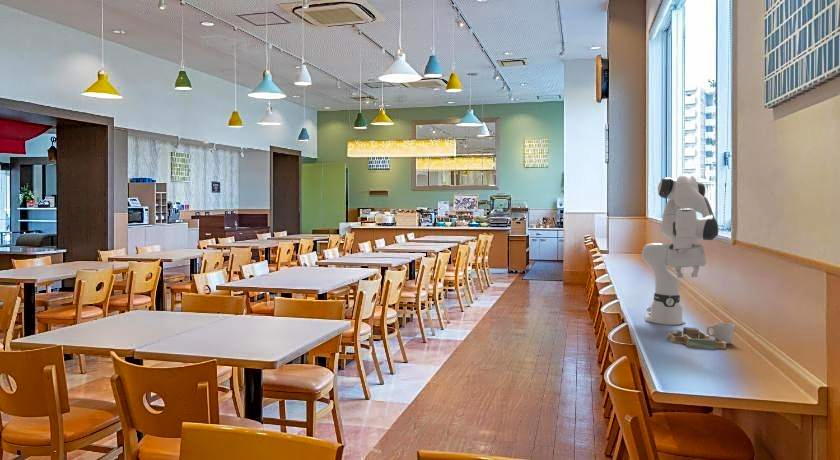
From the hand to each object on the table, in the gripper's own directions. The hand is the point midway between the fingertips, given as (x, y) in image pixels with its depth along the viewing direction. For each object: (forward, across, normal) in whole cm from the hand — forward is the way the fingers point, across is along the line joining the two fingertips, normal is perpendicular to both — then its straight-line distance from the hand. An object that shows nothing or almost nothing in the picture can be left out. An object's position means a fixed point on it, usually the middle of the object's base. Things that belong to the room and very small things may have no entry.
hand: (687, 277), depth 275 cm
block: (+27, +6, -6) cm, 28 cm away
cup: (+28, 0, -16) cm, 32 cm away
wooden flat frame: (+28, -1, -3) cm, 28 cm away
